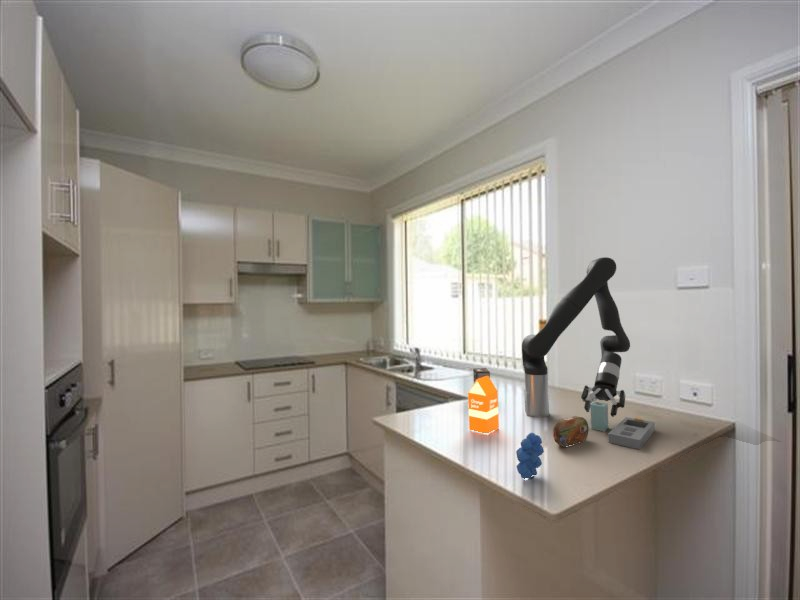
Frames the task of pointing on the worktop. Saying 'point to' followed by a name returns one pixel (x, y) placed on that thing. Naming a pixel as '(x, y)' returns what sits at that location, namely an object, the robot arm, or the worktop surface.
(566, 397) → the worktop surface
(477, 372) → the coffee box
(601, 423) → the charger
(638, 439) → the power strip
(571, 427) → the tin
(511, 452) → the worktop surface
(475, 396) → the orange juice
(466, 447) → the worktop surface
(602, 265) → the robot arm
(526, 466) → the grapes
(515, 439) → the worktop surface
